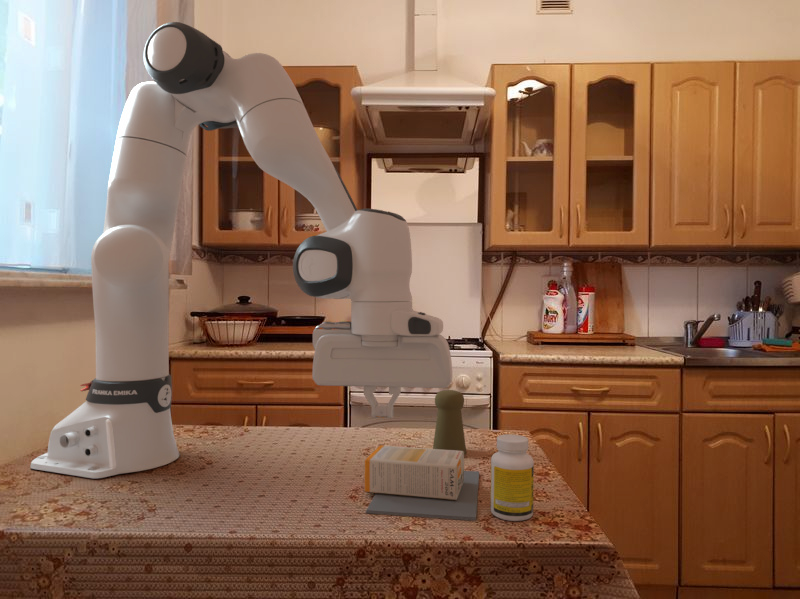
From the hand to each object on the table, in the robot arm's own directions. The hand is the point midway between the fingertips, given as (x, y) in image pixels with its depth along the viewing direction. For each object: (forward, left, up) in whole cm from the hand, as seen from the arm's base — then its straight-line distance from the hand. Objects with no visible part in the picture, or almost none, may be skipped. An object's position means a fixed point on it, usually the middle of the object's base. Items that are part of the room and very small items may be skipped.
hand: (382, 417), depth 80 cm
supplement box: (-2, 0, -8) cm, 8 cm away
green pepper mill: (+8, +20, -11) cm, 24 cm away
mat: (+7, 0, -10) cm, 12 cm away
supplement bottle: (+18, -6, -11) cm, 22 cm away
